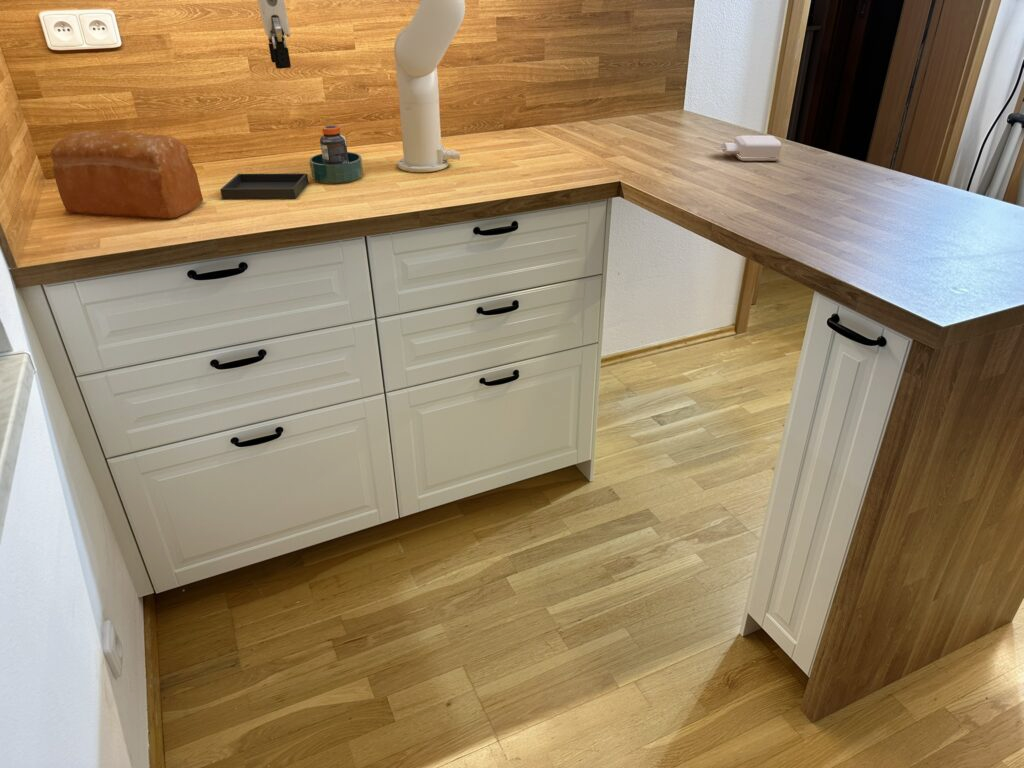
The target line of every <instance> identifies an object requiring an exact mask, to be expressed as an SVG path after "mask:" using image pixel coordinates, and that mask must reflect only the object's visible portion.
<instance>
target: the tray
mask: <svg viewBox="0 0 1024 768" xmlns="http://www.w3.org/2000/svg"><path fill="white" fill-rule="evenodd" d="M309 182H310V181H309V175H308V172H307V173H305V172H303V173H301V172H300V173H299V172H298V173H297V172H296V173H294V172H293V173H289V172H288V173H287V172H286V173H285V172H283V173H237V174H236V175H234V177H232V179H230V180H229V181H228V182H227V183H226V184H224V185H223V186H222V187H221V188H220V189H219V190H220V195H221V200H296V199H297V198H298V197H299V195H300V194H301V193H302V192H303V191H304V190H305V188H306V187H307V186H308V185H309Z"/></svg>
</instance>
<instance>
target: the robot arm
mask: <svg viewBox="0 0 1024 768" xmlns="http://www.w3.org/2000/svg"><path fill="white" fill-rule="evenodd" d="M465 2H466V0H419V4H418V7H417V9H416V11H415V13H414V15H413V16H412V18H411V20H410V22H409V24H408V25H407V26H406V27H403V28H402V29H401V30H400V31H399V33H398V34H397V36H396V37H395V40H394V45H393V53H394V54H393V55H394V61H395V70H396V71H395V72H396V81H397V92H398V106H399V117H400V128H401V131H400V132H401V143H402V153H403V154H402V155H403V157H402V158H400V159H399V160H398V161H397V167H398V169H400V170H401V171H405V172H411V173H430V172H431V173H432V172H437V171H441V170H444V169H446V168H447V167H448V166H449V160H454V161H455V160H458V161H459V160H460V158H461V153H460V150H459V151H458V150H455V149H450V150H448V149H446V148H445V146H444V145H445V144H442V132H441V114H440V91H439V90H440V89H439V78H438V76H439V75H438V66H439V64H440V63H441V62H442V59H443V58H444V56H445V54H446V53H447V51H448V49H449V47H450V46H451V44H452V43H453V41H454V38H455V37H456V35H457V33H458V32H459V30H460V28H461V26H462V24H463V21H464V18H465V15H466V3H465ZM285 3H286V2H285V0H257V4H258V9H259V14H260V19H261V24H262V26H263V30H264V31H263V32H264V34H265V35H266V37H267V38H268V49H269V55H270V61H271V63H274V65H275V68H276V69H277V70H279V69H280V70H281V69H290V68H292V66H291V65H292V64H291V59H290V51H289V48H288V45H287V41H286V37H287V38H290V37H291V30H290V24H289V20H288V13H287V9H286V4H285Z"/></svg>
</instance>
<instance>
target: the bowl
mask: <svg viewBox="0 0 1024 768" xmlns="http://www.w3.org/2000/svg"><path fill="white" fill-rule="evenodd" d="M347 153H348V160H349V163H344V164H336V165H325V164H323V158H322V153H319V154H315V155H313V156H311V157H310V158H309V159H308V161H309V168H310V175H311V179H312V180H314V181H315V182H318V183H323V184H331V185H332V184H333V185H335V184H346V183H351V182H353V181H354V182H355V181H356V180H359V179H360V178H362V177H364V168H363V158H362V155H361V154H359V153H357V152H351V151H347Z"/></svg>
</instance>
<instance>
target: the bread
mask: <svg viewBox="0 0 1024 768" xmlns="http://www.w3.org/2000/svg"><path fill="white" fill-rule="evenodd" d="M49 155H50V157H51V160H52V163H53V166H52V172H53V176H54V180H55V182H56V186H57V190H58V194H59V197H60V199H61V202H62V204H63V207H64V209H65V211H66V212H67V213H72V214H85V215H100V216H101V215H102V216H116V217H117V216H119V217H137V218H149V219H175V218H177V217H180V216H182V215H184V214H187V213H189V212H191V211H192V210H194V209H196V208H198V206H199V205H200V204H201V203H202V202H203V201H204V198H203V195H202V190H201V187H200V182H199V178H198V174H197V171H196V169H195V167H194V165H193V162H192V160H191V158H190V155H189V152H188V148H187V146H186V145H184V144H183V143H182V142H181V140H179V139H178V138H175V137H174V136H171V135H167V134H154V133H153V134H149V133H142V132H135V131H128V130H107V131H106V130H105V131H94V130H86V131H75V132H72V133H70V134H67V135H66V136H65V137H63V138H61V139H60V140H59V141H57V142H55V143H54V144H53V146H52V149H51V150H50V153H49Z"/></svg>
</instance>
